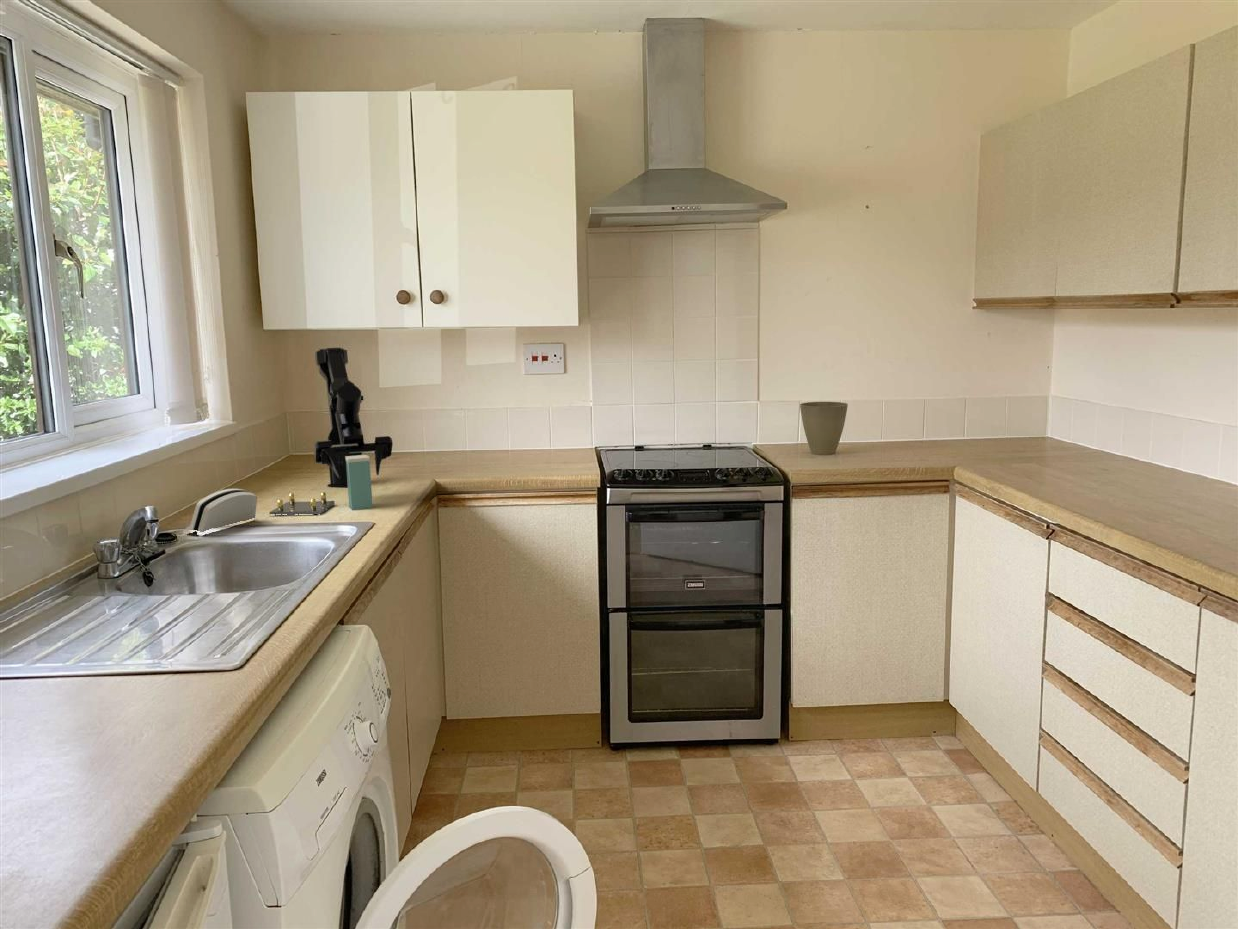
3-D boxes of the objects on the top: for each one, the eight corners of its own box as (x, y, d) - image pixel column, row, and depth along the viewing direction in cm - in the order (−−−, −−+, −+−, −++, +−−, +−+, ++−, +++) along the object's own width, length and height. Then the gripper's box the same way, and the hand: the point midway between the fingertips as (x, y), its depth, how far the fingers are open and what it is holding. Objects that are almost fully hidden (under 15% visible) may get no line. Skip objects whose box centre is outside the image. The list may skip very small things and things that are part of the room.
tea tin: (348, 506, 231) (345, 456, 229) (369, 504, 233) (366, 454, 231) (351, 510, 226) (347, 459, 224) (373, 508, 228) (369, 457, 226)
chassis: (287, 505, 233) (286, 492, 233) (334, 504, 233) (333, 491, 233) (269, 516, 222) (268, 502, 221) (319, 515, 221) (318, 500, 221)
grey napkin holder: (239, 519, 220) (246, 480, 217) (254, 526, 218) (262, 488, 215) (183, 535, 204) (190, 494, 201) (199, 543, 203) (206, 502, 200)
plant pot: (792, 451, 302) (793, 402, 299) (835, 448, 305) (836, 400, 302) (810, 458, 288) (810, 407, 285) (854, 455, 290) (855, 405, 287)
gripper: (383, 443, 246) (394, 490, 238) (310, 449, 238) (318, 498, 230) (387, 416, 238) (398, 464, 229) (311, 422, 230) (320, 471, 222)
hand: (359, 475), depth 228 cm, fingers open, 9 cm apart
